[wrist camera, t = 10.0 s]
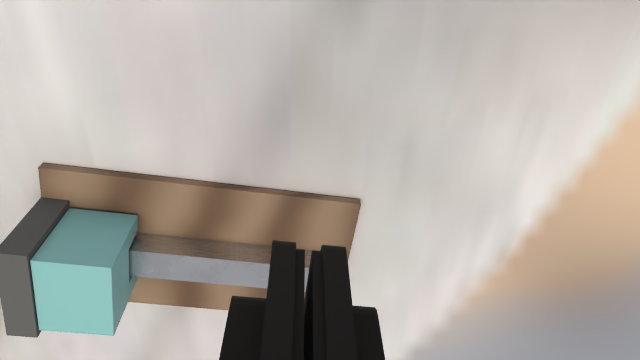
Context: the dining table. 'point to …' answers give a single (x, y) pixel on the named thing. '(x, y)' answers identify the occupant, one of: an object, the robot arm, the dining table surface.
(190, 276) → the rail
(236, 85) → the dining table surface
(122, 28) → the dining table surface
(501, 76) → the dining table surface
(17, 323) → the stop
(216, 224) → the board
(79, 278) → the slider
